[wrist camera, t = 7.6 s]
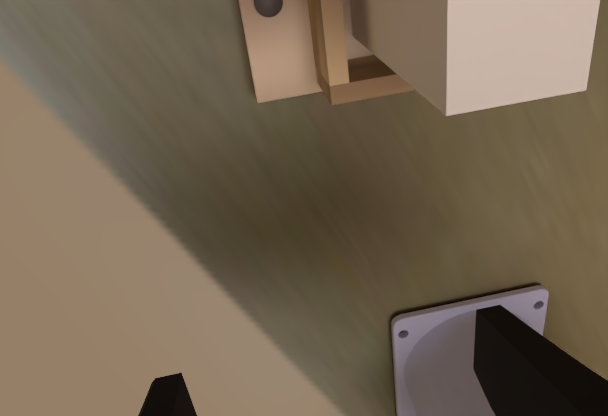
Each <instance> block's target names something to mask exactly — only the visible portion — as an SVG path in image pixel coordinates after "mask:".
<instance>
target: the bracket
mask: <svg viewBox="0 0 608 416" xmlns="http://www.w3.org/2000/svg"><path fill="white" fill-rule="evenodd" d="M238 3H239V8H240V14H241V19H242V25H243V30H244V35H245V41H246V46H247V52H248V57H249V63H250V68H251V73H252V79H253V84H254V90H255V95H256V98H257V102H258V103H261V102H267V101H272V100H278V99H283V98H289V97H294V96H300V95H306V94H311V93H317V92H322V91H323V92H324V94H325V95H326V97H327V99H328V100H329V102H330V103H331V105H337V104H342V103H348V102H353V101H359V100H364V99H370V98H375V97H381V96H386V95H392V94H397V93H403V92H408V91H414V90H415V89H414V88H413V87H412V86H410V85H409V84H408V83H407V82H406V81H405V80H403V79H402V78H401V77H400V76H399V75H397V74H396V73H395V72H394V71H393V70H392V69H390V68H389V67H388V66H387V65H386V64H385V63H383V62H382V61H381V60H380V59H379V58H378V57H376V56H375V55H374V54H373V53H372V52H370V51H369V50H368V49H367V48H366V47H365V46H363V45H362V44H361V43H360V42H359V41H358V40H356V39H355V38H354V37H353V36H352V26H351V13H350V1H349V0H238Z"/></svg>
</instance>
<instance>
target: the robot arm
mask: <svg viewBox="0 0 608 416" xmlns="http://www.w3.org/2000/svg"><path fill="white" fill-rule="evenodd" d="M548 296H549V293H548V291H547V290H546V289H545V288H544V287H543V286H541V285H537V286H532V287H527V288H522V289H518V290H513V291H508V292H504V293H499V294H494V295H489V296H485V297H480V298H475V299H471V300H466V301H461V302H457V303H452V304H447V305H442V306H438V307H433V308H428V309H424V310H419V311H414V312H409V313H405V314H400V315H397V316H396V317H394V318H393V320H392V322H391V332H392V349H393V365H394V382H395V399H396V415H397V416H608V381H607V380H606V379H604V378H602V377H601V376H599V375H598V374H596V373H595V372H593V371H592V370H590V369H589V368H587V367H586V366H584V365H583V364H581V363H580V362H579V361H577V360H576V359H574V358H573V357H571V356H570V355H568V354H567V353H566V352H564V351H563V350H561V349H560V348H558V347H557V346H556V345H554V344H553V343H552V342H550V341H549V340H547V339H546V338H545V337H543V331H544V324H545V317H546V310H547V303H548ZM536 302H537V303H536ZM535 303H536V304H535ZM403 330H405V331H404V332H402V333H400V332H401V331H403ZM138 416H197V415H196V412H195V409H194V406H193V404H192V401H191V398H190V395H189V393H188V390H187V387H186V384H185V382H184V379H183V376H182V373H179V374H174V375H169V376H164V377H160V378H156V379H155V380H154V381H153V382H152V384H151V386H150V389H149V391H148V394H147V396H146V399H145V401H144V404H143V406H142V408H141V411H140V413H139V415H138Z"/></svg>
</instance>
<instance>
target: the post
mask: <svg viewBox="0 0 608 416" xmlns="http://www.w3.org/2000/svg"><path fill="white" fill-rule="evenodd" d="M349 1H350V13H351V26H352V36H353V37H354V38H355V39H356V40H358V41H359V42H360V43H361V44H362V45H363V46H365V47H366V48H367V49H368V50H369V51H370V52H372V53H373V54H374V55H375V56H376V57H378V58H379V59H380V60H381V61H382V62H383V63H385V64H386V65H387V66H388V67H389V68H390V69H392V70H393V71H394V72H395V73H396V74H397V75H399V76H400V77H401V78H402V79H403V80H405V81H406V82H407V83H408V84H409V85H410V86H412V87H413V88H414V89H415V90H416V91H417V92H419V93H420V94H421V95H422V96H423V97H424V98H426V99H427V100H428V101H429V102H430V103H432V104H433V105H434V106H435V107H436V108H437V109H439V110H440V111H441V112H442V113H443V114H444V115H446V116H449V115H455V114H460V113H466V112H471V111H476V110H482V109H487V108H493V107H498V106H504V105H509V104H514V103H520V102H525V101H531V100H536V99H541V98H547V97H552V96H558V95H563V94H569V93H574V92H579V91H585V90H586V88H587V82H588V75H589V69H590V62H591V56H592V49H593V42H594V36H595V29H596V23H597V16H598V10H599V3H600V0H349Z"/></svg>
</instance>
